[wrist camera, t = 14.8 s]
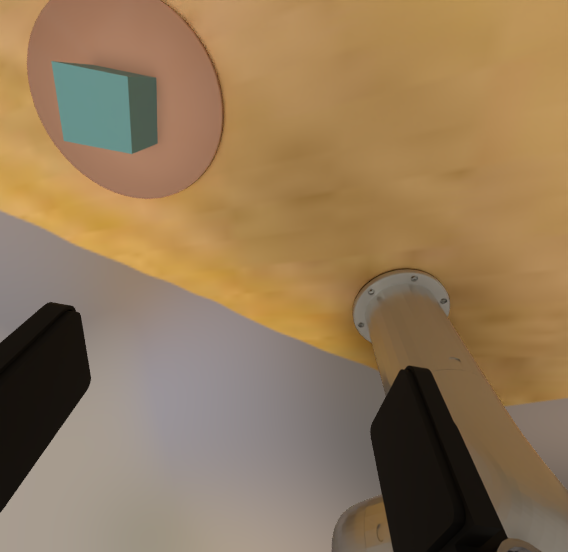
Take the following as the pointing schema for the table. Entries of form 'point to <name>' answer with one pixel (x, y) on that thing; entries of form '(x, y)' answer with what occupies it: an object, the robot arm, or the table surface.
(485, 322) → the table surface
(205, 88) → the terracotta disc
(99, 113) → the teal block
